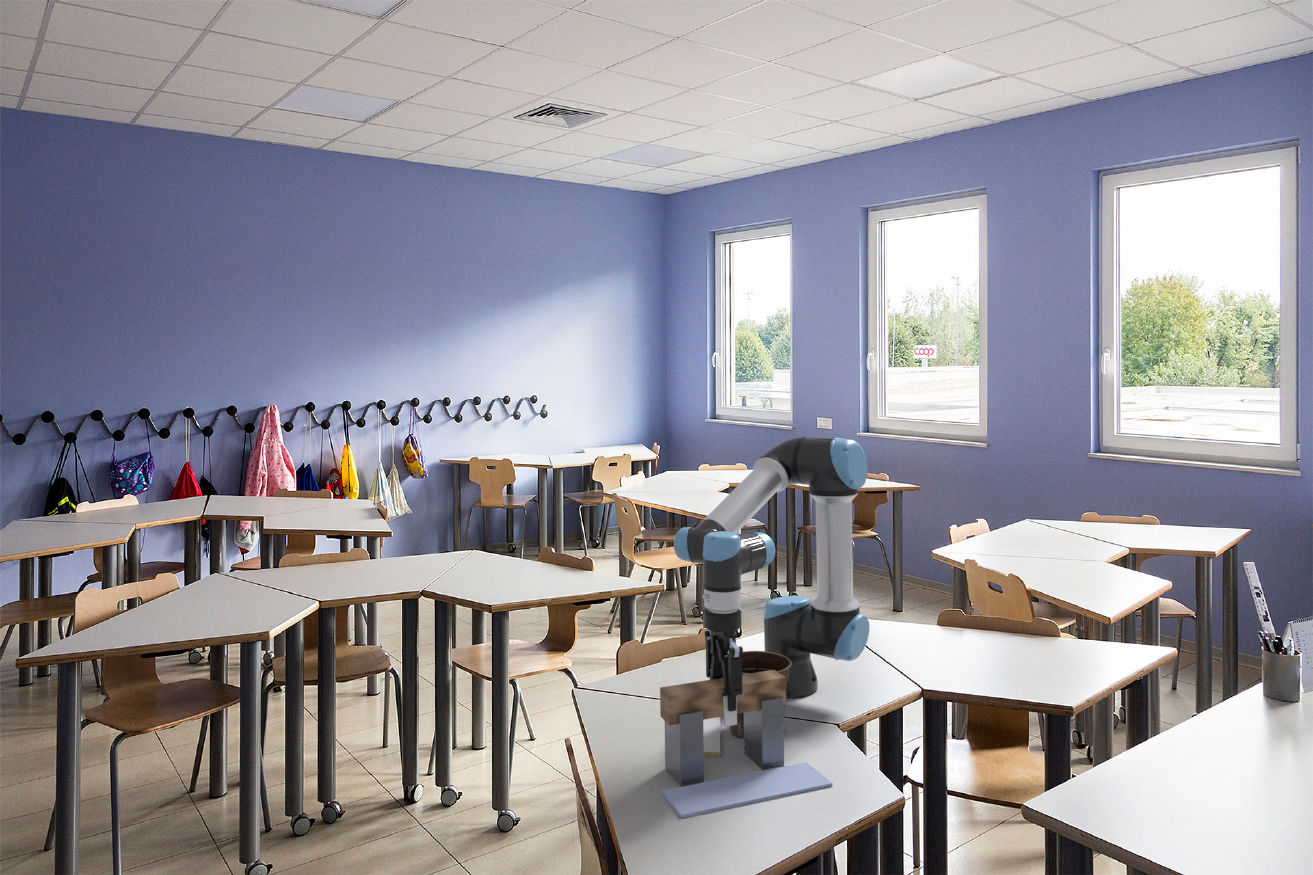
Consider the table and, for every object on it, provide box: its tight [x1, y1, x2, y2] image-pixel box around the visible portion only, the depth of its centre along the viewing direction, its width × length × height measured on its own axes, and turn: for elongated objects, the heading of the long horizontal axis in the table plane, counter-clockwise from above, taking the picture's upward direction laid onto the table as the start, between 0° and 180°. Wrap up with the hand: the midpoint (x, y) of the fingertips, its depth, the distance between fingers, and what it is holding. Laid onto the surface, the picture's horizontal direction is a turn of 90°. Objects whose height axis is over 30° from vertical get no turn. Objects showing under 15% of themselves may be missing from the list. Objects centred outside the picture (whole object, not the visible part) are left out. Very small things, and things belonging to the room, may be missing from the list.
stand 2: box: [743, 696, 785, 771], centre depth 184 cm, size 5×8×14 cm, turn 20°
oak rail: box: [659, 670, 787, 726], centre depth 180 cm, size 26×5×6 cm, turn 110°
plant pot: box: [727, 650, 792, 739], centre depth 198 cm, size 16×16×16 cm
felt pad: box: [661, 761, 833, 819], centre depth 171 cm, size 32×10×1 cm, turn 110°
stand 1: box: [664, 710, 705, 787], centre depth 177 cm, size 5×8×14 cm, turn 20°
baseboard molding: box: [703, 717, 721, 757], centre depth 202 cm, size 31×3×12 cm
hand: (724, 719), depth 180 cm, fingers closed on oak rail, 5 cm apart
